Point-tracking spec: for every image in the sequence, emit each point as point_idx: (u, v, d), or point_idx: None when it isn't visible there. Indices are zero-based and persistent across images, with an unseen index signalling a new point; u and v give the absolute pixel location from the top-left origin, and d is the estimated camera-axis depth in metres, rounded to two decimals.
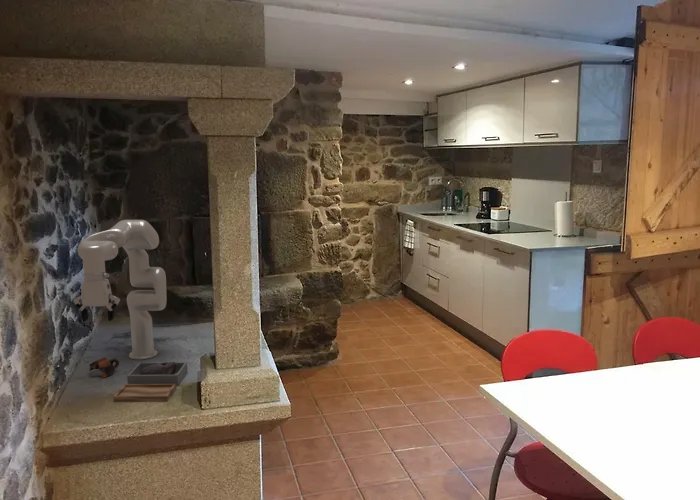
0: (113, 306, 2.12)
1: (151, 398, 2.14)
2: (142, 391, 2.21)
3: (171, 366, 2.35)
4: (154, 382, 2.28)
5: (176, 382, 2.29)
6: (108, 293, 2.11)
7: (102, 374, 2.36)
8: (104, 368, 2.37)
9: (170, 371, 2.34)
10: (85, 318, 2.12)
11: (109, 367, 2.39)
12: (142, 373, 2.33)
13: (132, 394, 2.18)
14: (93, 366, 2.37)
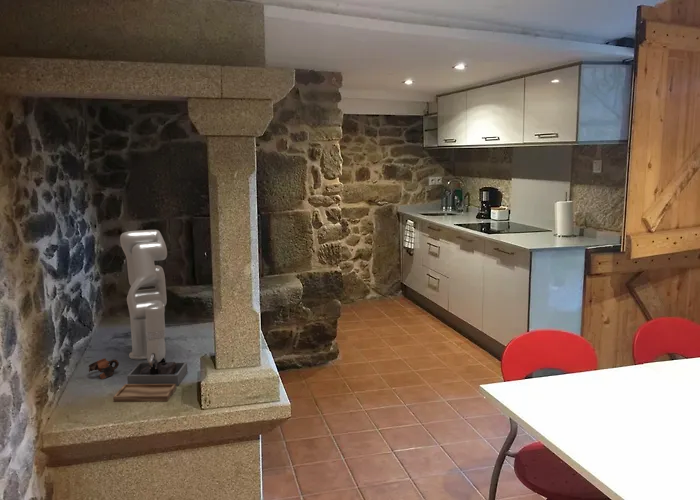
0: None
1: (151, 398, 2.14)
2: (142, 391, 2.21)
3: (171, 366, 2.35)
4: (154, 382, 2.28)
5: (176, 382, 2.29)
6: None
7: (102, 375, 2.35)
8: (104, 369, 2.36)
9: (170, 371, 2.34)
10: None
11: (109, 368, 2.38)
12: (142, 373, 2.33)
13: (132, 394, 2.18)
14: (92, 367, 2.35)
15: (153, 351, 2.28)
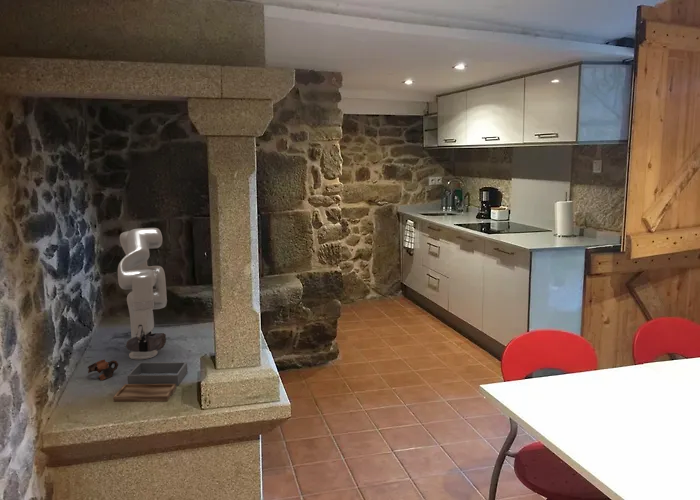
0: (151, 331, 2.24)
1: (151, 398, 2.14)
2: (142, 391, 2.21)
3: (160, 337, 2.19)
4: (154, 382, 2.28)
5: (176, 382, 2.29)
6: None
7: (101, 376, 2.34)
8: (103, 370, 2.35)
9: (159, 342, 2.19)
10: None
11: (108, 369, 2.37)
12: (129, 344, 2.17)
13: (132, 394, 2.18)
14: (92, 368, 2.34)
15: (140, 322, 2.14)
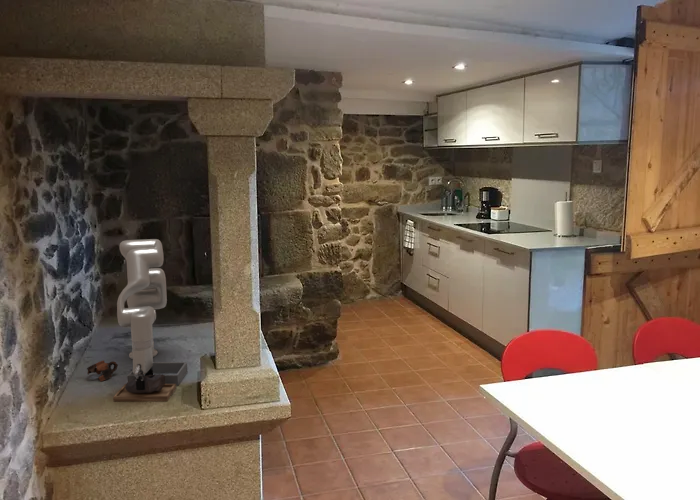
0: None
1: (151, 398, 2.14)
2: None
3: (159, 379, 2.18)
4: None
5: (176, 382, 2.29)
6: None
7: (101, 377, 2.33)
8: (103, 371, 2.33)
9: (157, 384, 2.18)
10: None
11: (108, 370, 2.36)
12: (128, 386, 2.17)
13: (132, 394, 2.18)
14: (91, 369, 2.33)
15: (139, 362, 2.13)
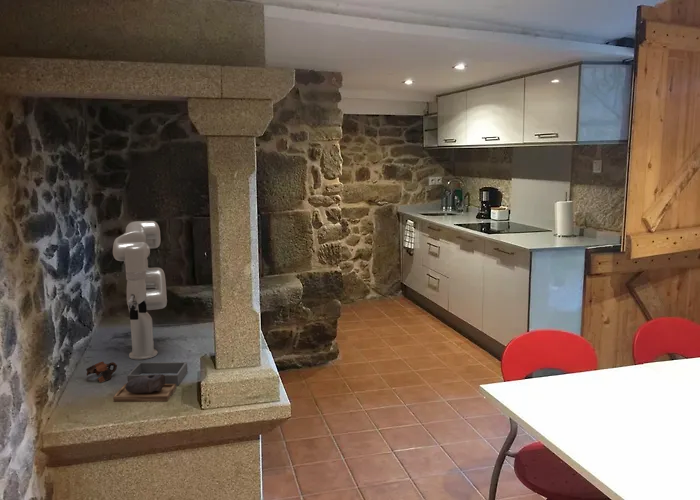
0: (145, 298, 2.34)
1: (151, 398, 2.14)
2: None
3: (159, 379, 2.18)
4: None
5: (176, 382, 2.29)
6: None
7: (100, 378, 2.32)
8: (102, 372, 2.32)
9: (157, 384, 2.18)
10: None
11: (107, 371, 2.35)
12: (128, 386, 2.17)
13: (132, 394, 2.18)
14: (91, 370, 2.32)
15: (133, 292, 2.22)
